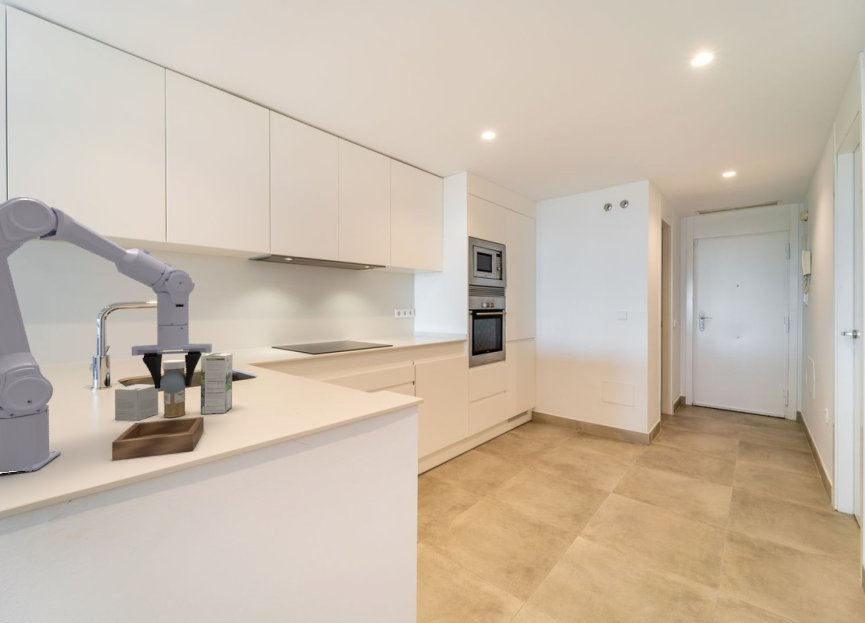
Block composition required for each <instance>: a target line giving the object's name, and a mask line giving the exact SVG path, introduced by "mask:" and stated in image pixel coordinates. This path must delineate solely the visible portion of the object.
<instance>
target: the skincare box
mask: <svg viewBox="0 0 865 623" xmlns="http://www.w3.org/2000/svg"><path fill="white" fill-rule="evenodd" d="M158 414H159V389H155V385H154V384H142V383H141V384H140V383H137V384H136V383H135V384H132V385H128V386H123V387H120V388H115V389H114V420H115V421H128V420H129V421H132V422H133V421H134V422H139V421H142V420H144V419H145V420H146V418H150V417H153V416H154V415H158Z"/></svg>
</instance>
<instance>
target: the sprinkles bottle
mask: <svg viewBox="0 0 865 623" xmlns="http://www.w3.org/2000/svg"><path fill="white" fill-rule="evenodd" d="M162 369H163V375H164V374H166V373H167V372H170V371H179V372H182V373H183V374H184V375H185V376H186V363H185V359H168V360H163V361H162ZM163 408H164V410H163V411H164V412H163V417H164V418H169V419H172V418H171V417H173V418H179V417H182V416H185V415H186V414H187V413H186V387H185V388H184V389H183V390H182V391H181V392H179V393H176V394H168V393H166V392H164V391H163Z"/></svg>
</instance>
